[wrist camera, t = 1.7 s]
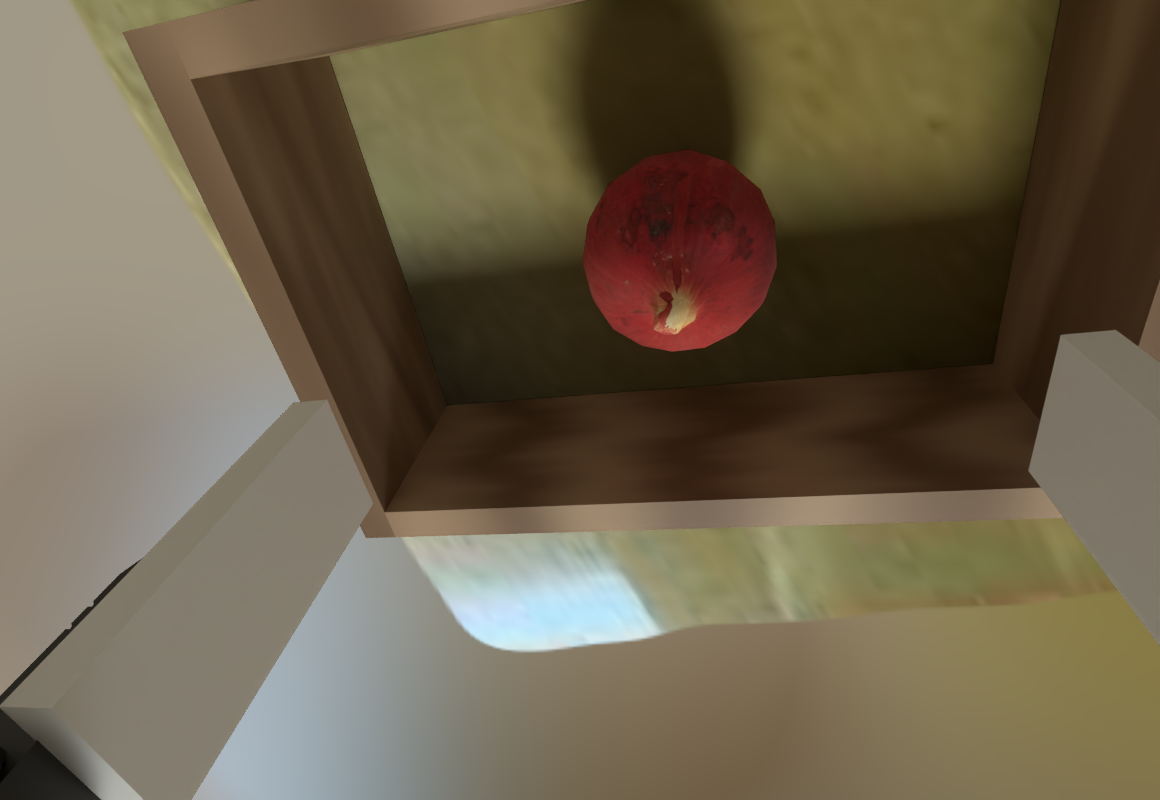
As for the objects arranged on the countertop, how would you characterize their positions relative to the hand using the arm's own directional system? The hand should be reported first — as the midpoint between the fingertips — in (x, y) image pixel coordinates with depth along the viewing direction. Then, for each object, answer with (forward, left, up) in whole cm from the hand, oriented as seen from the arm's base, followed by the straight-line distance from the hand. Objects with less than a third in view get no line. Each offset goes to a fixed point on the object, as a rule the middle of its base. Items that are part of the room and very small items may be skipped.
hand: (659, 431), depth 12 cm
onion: (0, 0, -13) cm, 13 cm away
